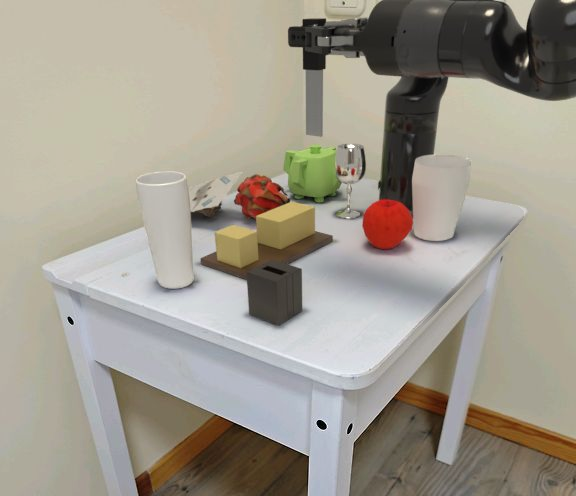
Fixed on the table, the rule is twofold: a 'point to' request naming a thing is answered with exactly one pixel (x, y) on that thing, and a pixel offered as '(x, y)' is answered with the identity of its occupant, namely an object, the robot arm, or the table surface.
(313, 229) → the butter block
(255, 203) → the dragon fruit
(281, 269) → the knife block
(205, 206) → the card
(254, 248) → the butter slice
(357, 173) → the wineglass
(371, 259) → the table surface
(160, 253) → the white tall tumbler
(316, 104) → the knife
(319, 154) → the teapot
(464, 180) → the cup
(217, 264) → the butter board
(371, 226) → the apple
